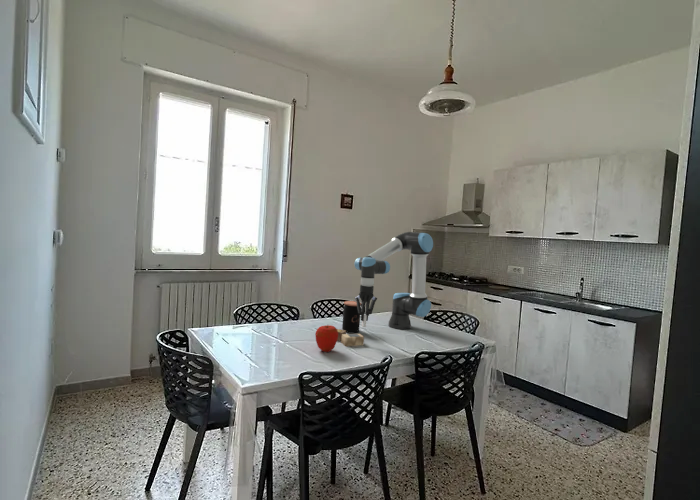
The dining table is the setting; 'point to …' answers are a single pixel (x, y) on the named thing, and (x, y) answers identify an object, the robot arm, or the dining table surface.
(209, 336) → the dining table surface
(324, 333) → the apple
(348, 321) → the coffee jar
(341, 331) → the walnut block
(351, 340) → the beech block
